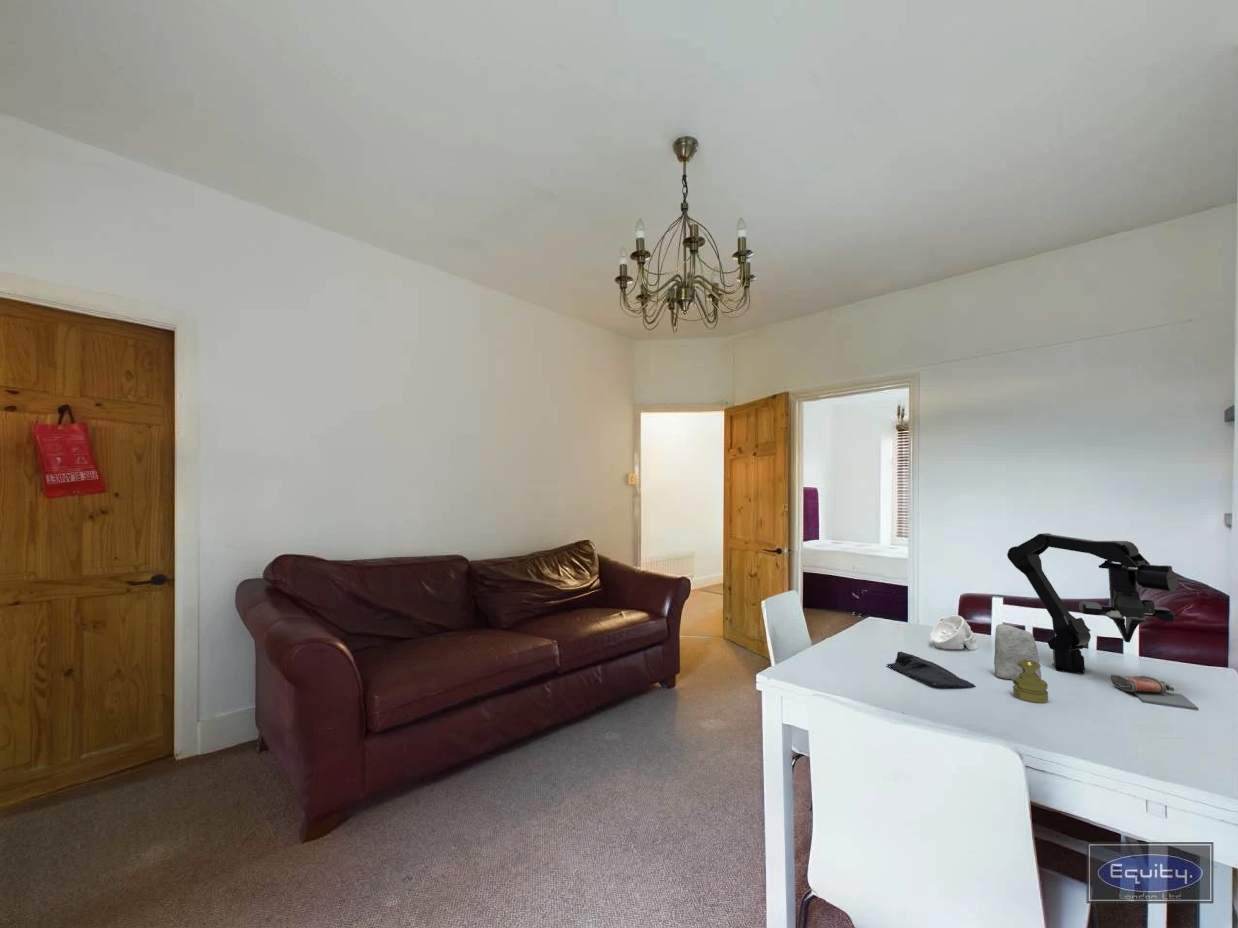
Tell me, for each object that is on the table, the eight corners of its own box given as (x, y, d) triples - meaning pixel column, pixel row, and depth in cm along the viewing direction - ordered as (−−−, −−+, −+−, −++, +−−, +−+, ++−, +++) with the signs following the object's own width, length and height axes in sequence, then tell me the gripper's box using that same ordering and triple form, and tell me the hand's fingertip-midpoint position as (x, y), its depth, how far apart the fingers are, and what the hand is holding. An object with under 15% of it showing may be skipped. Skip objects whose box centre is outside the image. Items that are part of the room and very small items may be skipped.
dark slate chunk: (929, 692, 142) (928, 674, 142) (882, 665, 164) (882, 650, 164) (981, 690, 143) (980, 672, 144) (928, 664, 165) (927, 649, 165)
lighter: (1109, 672, 144) (1151, 674, 142) (1111, 684, 143) (1153, 686, 141) (1132, 680, 136) (1177, 682, 134) (1133, 694, 135) (1178, 696, 133)
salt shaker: (1040, 705, 131) (1037, 665, 132) (1007, 695, 138) (1005, 657, 139) (1054, 699, 135) (1051, 661, 135) (1021, 690, 141) (1019, 653, 142)
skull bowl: (992, 647, 176) (972, 617, 176) (960, 670, 174) (941, 640, 174) (969, 638, 186) (950, 610, 186) (939, 660, 185) (920, 632, 185)
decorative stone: (1037, 677, 151) (1034, 625, 152) (1044, 684, 145) (1040, 630, 146) (992, 672, 155) (989, 622, 156) (997, 679, 150) (994, 627, 151)
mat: (1142, 702, 132) (1142, 699, 132) (1129, 689, 141) (1129, 687, 141) (1198, 710, 127) (1198, 707, 127) (1181, 696, 136) (1181, 693, 136)
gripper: (1086, 587, 143) (1090, 644, 142) (1181, 593, 133) (1186, 654, 133) (1077, 581, 153) (1080, 634, 152) (1165, 586, 143) (1169, 643, 142)
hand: (1127, 641), depth 144 cm, fingers closed
